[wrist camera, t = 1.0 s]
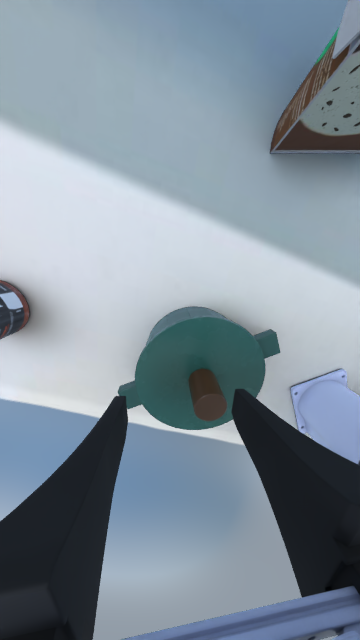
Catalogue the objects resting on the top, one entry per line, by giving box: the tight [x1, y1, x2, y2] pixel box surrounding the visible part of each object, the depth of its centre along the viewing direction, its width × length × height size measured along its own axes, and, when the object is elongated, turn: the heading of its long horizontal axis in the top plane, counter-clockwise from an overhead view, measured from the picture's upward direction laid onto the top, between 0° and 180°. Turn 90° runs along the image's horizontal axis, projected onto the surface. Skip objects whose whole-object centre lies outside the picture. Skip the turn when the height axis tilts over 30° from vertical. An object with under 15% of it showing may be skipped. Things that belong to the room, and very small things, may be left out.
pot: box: [118, 307, 280, 409], centre depth 20 cm, size 11×17×5 cm
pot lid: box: [135, 316, 265, 430], centre depth 15 cm, size 12×12×4 cm
